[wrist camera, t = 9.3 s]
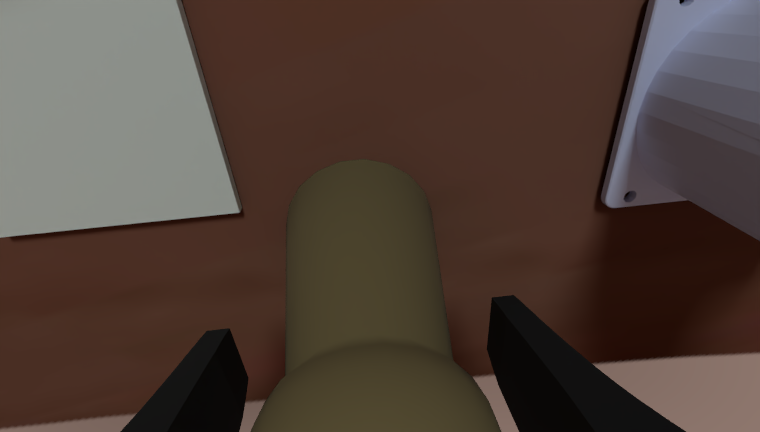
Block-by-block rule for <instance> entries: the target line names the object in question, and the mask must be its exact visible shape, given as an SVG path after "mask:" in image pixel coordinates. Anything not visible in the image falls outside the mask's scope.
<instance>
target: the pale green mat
mask: <svg viewBox="0 0 760 432" xmlns="http://www.w3.org/2000/svg"><path fill="white" fill-rule="evenodd" d="M241 209H242V206H241V202H240V199H239V195H238V192H237V188H236V185H235V182H234V178H233V175H232V171H231V168H230V165H229V161H228V158H227V154H226V151H225V147H224V144H223V141H222V137H221V134H220V130H219V127H218V124H217V120H216V117H215V113H214V110H213V107H212V103H211V100H210V96H209V93H208V89H207V86H206V83H205V79H204V76H203V72H202V69H201V66H200V62H199V59H198V55H197V52H196V49H195V45H194V42H193V38H192V35H191V31H190V28H189V25H188V21H187V18H186V14H185V11H184V8H183V4H182V1H181V0H0V237H10V236H19V235H29V234H39V233H48V232H58V231H68V230H77V229H87V228H96V227H106V226H116V225H125V224H135V223H145V222H154V221H164V220H174V219H183V218H193V217H203V216H212V215H222V214H232V213H240V211H241Z"/></svg>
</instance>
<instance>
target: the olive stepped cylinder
mask: <svg viewBox="0 0 760 432" xmlns="http://www.w3.org/2000/svg"><path fill="white" fill-rule="evenodd" d="M251 432H501V430H500V427H499V425H498V422H497V420H496V417H495V415H494V413H493V410H492V408H491V406H490V403H489V401H488V399H487V398H486V396H485V395H484V394H483V392H482V391H481V389H480V388H479V386H478V385H477V383H476V382H475V380H474V379H473V377H472V376H471V375H469V374H468V373H467V372H466V371H465V370H464V369H462V368H461V367H460V366H459V365H458V364H456V363H455V362H454V361H453V355H452V349H451V342H450V335H449V328H448V321H447V314H446V307H445V301H444V294H443V287H442V280H441V273H440V266H439V260H438V253H437V246H436V239H435V232H434V225H433V218H432V212H431V208H430V206H429V203H428V201H427V198H426V195H425V193H424V191H423V190H422V189H421V188H420V187H419V185H418V184H417V183H416V182H415V181H414V180H413V179H412V178H411V176H410V175H408V174H406V173H404V172H403V171H401V170H399V169H397V168H395V167H394V166H392V165H390V164H386V163H381V162H376V161H371V160H366V159H362V160H352V161H342V162H338V163H336V164H333V165H331V166H329V167H326V168H324V169H322V170H319V171H317V172H316V173H315V174H314V175H312V176H311V177H310V178H309V179H308V180H307V181H306V182H304V183H303V184H302V185H301V186H300V187H299V189H298V191H297V192H296V194H295V196H294V198H293V199H292V201H291V203H290V205H289V210H288V217H287V224H286V337H285V377H284V378H282V379H281V380H280V382H279V383H278V384H277V386H276V387H275V389H274V390H273V391H272V393H271V394H270V396H269V397H268V398H267V400H266V401H265V403H264V405H263V407H262V409H261V411H260V413H259V415H258V417H257V419H256V421H255V423H254V426H253V428H252V430H251Z"/></svg>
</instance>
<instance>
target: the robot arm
mask: <svg viewBox="0 0 760 432" xmlns="http://www.w3.org/2000/svg"><path fill="white" fill-rule="evenodd" d="M629 191H630V193H629V195H627V196H626V197H624V196H625V194H626V193H628V192H629ZM601 200H602V202H603V203H604V204H605V205H606V206H608V207H610V208H620V207H630V206H639V205H648V204H658V203H667V202H676V201H686V200H689V201H691V202H693V203H694V204H696V205H698V206H699V207H701V208H703V209H705V210H706V211H708V212H710V213H712V214H713V215H715V216H717V217H719V218H720V219H722V220H724V221H726V222H727V223H729V224H731V225H733V226H734V227H736V228H738V229H740V230H741V231H743V232H745V233H747V234H748V235H750V236H752V237H754V238H755V239H757V240H759V241H760V0H684V2H683V3H682V4H680V3H679V0H649V2H648V6H647V10H646V14H645V18H644V22H643V26H642V31H641V35H640V39H639V43H638V47H637V51H636V55H635V59H634V63H633V67H632V71H631V75H630V79H629V84H628V88H627V92H626V96H625V100H624V104H623V108H622V112H621V116H620V120H619V124H618V128H617V132H616V136H615V141H614V145H613V149H612V153H611V157H610V161H609V165H608V169H607V173H606V177H605V181H604V185H603V189H602V194H601ZM487 351H488V354H489V357H490V360H491V364H492V367H493V370H494V373H495V376H496V379H497V382H498V385H499V387H500V389H501V392H502V394H503V396H504V399H505V401H506V403H507V405H508V408H509V410H510V412H511V414H512V417H513V419H514V421H515V423H516V425H517V427H518V430H519V432H686V431H684V430H683V429H681V428H680V427H678V426H677V425H675V424H674V423H672V422H670V421H669V420H667V419H666V418H665V417H663V416H662V415H660V414H659V413H657V412H656V411H654V410H653V409H652V408H650V407H649V406H647V405H646V404H644V403H643V402H641V401H640V400H638V399H637V398H636V397H634V396H633V395H631V394H630V393H629V392H627V391H626V390H625V389H623V388H622V387H621V386H619V385H618V384H617V383H615V382H614V381H613V380H611V379H610V378H609V377H608V376H606V375H605V374H604V373H602V372H601V371H600V370H599V369H598V368H596V367H595V366H594V365H593V364H591V363H590V362H589V361H588V360H586V359H585V358H584V357H583V356H582V355H581V354H579V353H578V352H577V351H576V350H575V349H573V348H572V347H571V346H570V345H569V344H568V343H566V342H565V341H564V340H563V339H562V338H561V337H559V336H558V335H557V334H556V333H555V332H554V331H553V330H552V329H550V328H549V327H548V326H547V325H546V324H545V323H544V322H543V321H542V320H540V319H539V318H538V317H537V316H536V315H535V314H534V313H533V312H532V311H531V310H530V309H528V308H527V307H526V306H525V305H524V304H523V303H522V302H521V301H520V300H519V299H517V298H516V297H515V296H514V295H511V296H502V297H494V298H492V303H491V313H490V323H489V333H488V343H487ZM247 385H248V376H247V373H246V371H245V368H244V365H243V363H242V360H241V357H240V355H239V352H238V350H237V347H236V344H235V342H234V339H233V336H232V334H231V331H230V329H220V330H212V331H206V333H205V334H204V335H203V336H202V337H201V338H200V340H199V341H198V342H197V343H196V344H195V346H194V347H193V348H192V349H191V350H190V352H189V353H188V354H187V355H186V356H185V358H184V359H183V360H182V361H181V362H180V364H179V365H178V366H177V367H176V369H175V370H174V371H173V372H172V373H171V375H170V376H169V377H168V378H167V379H166V381H165V382H164V383H163V384H162V385H161V386H160V388H159V389H158V390H157V391H156V392H155V393H154V395H153V396H152V397H151V398H150V399H149V400H148V402H147V403H146V404H145V405H144V406H143V407H142V409H141V410H140V411H139V412H138V413H137V414H136V415H135V416H134V418H133V419H132V420H131V421H130V422H129V423H128V424H127V425H126V426H125V427H124V429H123V430H122V431H121V432H239V430H240V426H241V422H242V418H243V411H244V406H245V400H246V392H247Z"/></svg>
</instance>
